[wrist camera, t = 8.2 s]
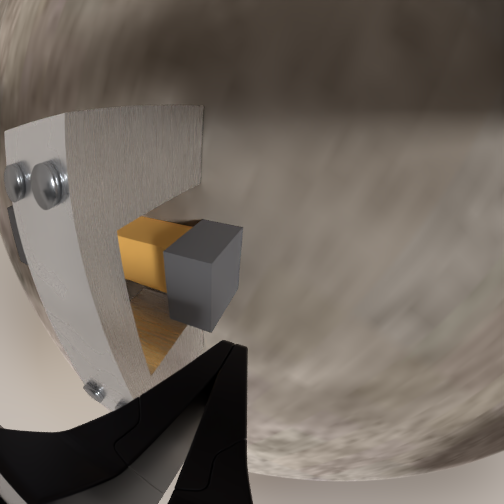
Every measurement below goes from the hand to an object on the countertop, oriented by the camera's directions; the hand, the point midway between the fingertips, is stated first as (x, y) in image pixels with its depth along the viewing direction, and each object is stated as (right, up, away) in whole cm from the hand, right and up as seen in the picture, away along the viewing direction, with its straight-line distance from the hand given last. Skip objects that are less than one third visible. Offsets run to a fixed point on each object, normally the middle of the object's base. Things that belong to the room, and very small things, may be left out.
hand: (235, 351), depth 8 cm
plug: (-7, +4, +6) cm, 10 cm away
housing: (-4, +4, +6) cm, 8 cm away
